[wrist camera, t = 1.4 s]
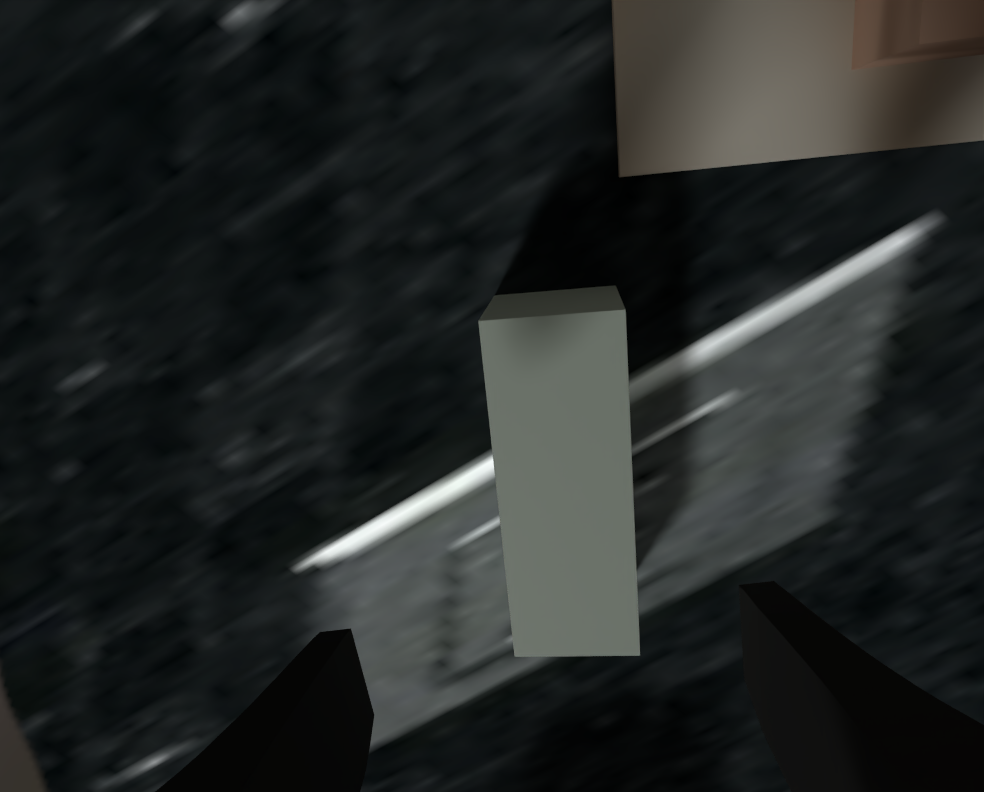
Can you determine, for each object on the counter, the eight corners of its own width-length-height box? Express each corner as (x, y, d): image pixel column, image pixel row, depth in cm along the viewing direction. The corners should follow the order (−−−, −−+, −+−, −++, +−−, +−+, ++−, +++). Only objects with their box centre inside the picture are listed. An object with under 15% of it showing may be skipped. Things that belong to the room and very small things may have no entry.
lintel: (615, 284, 20) (625, 309, 16) (628, 576, 23) (640, 655, 19) (495, 294, 21) (478, 321, 17) (523, 579, 24) (514, 656, 20)
